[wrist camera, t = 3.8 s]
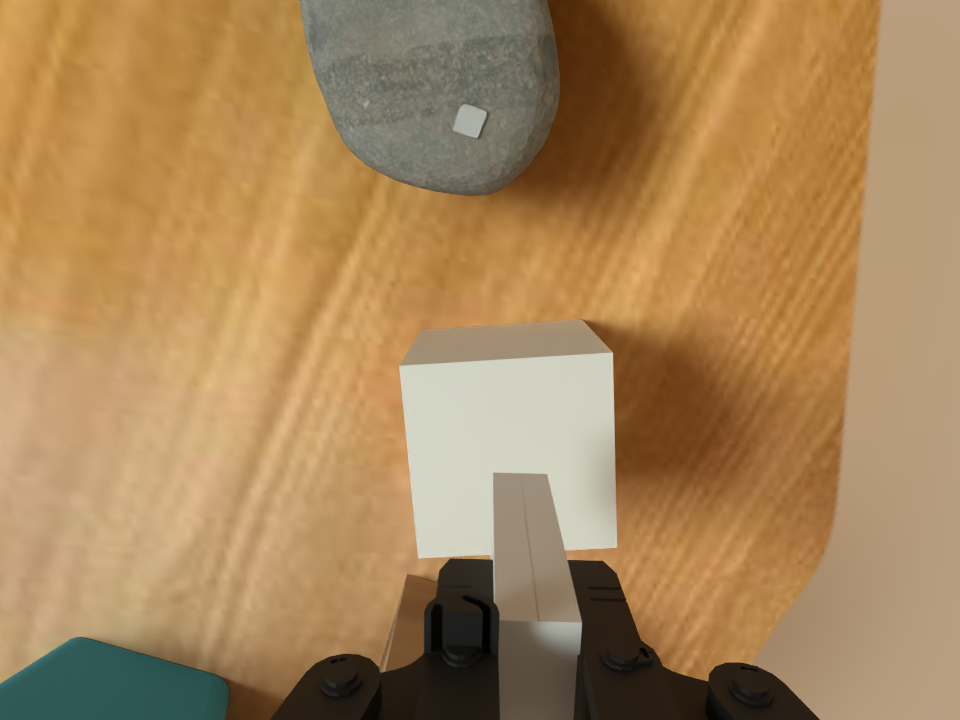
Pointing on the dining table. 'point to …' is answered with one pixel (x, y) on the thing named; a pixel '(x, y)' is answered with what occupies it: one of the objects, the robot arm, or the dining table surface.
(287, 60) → the dining table surface
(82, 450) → the dining table surface
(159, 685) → the block
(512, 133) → the stone
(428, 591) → the marked block
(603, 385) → the plain block
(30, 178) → the dining table surface
